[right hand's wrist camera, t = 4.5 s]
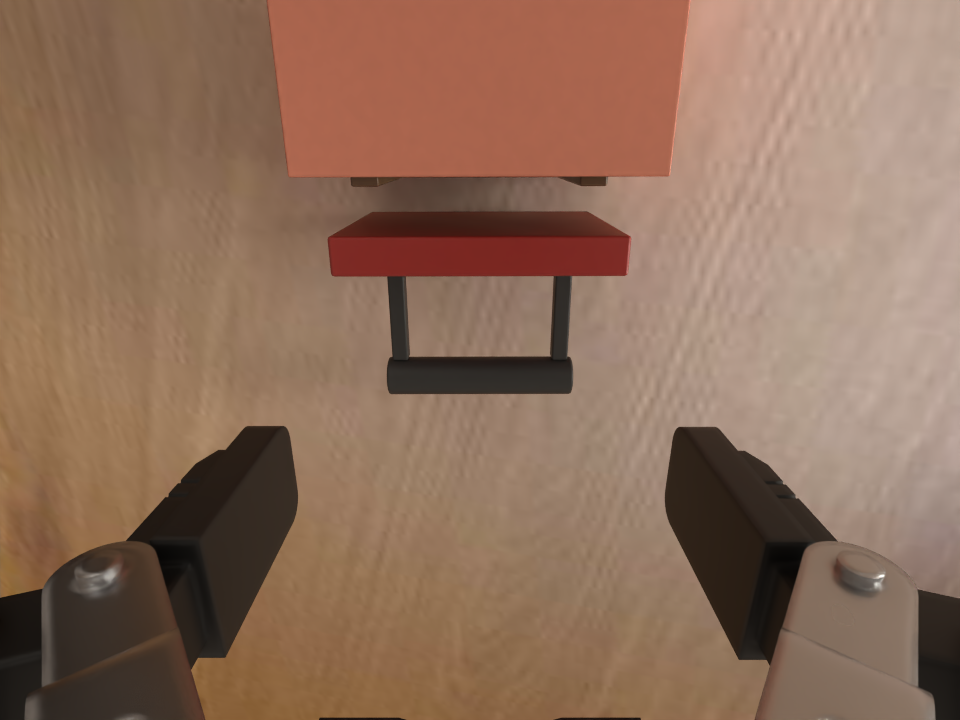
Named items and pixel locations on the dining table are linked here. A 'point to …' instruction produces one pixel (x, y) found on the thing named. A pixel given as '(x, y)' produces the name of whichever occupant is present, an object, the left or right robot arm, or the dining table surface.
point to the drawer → (479, 252)
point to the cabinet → (478, 86)
